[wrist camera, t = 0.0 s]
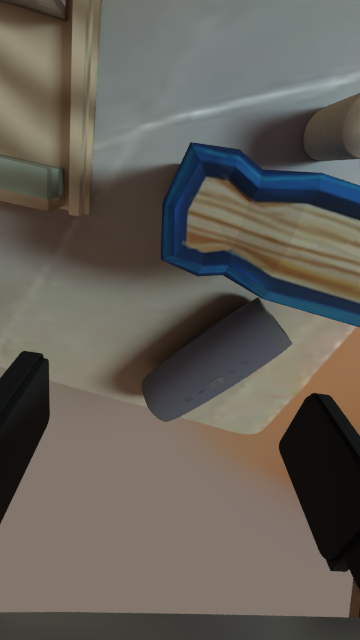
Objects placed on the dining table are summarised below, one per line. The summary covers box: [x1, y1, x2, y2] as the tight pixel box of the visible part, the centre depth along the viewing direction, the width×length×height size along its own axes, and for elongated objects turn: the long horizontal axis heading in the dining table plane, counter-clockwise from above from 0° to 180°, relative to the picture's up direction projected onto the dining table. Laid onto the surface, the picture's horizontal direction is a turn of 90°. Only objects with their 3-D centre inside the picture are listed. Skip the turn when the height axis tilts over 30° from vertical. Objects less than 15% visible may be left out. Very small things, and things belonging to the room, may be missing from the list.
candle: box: [303, 93, 360, 161], centre depth 28 cm, size 6×6×10 cm
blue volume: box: [161, 142, 360, 327], centre depth 25 cm, size 22×7×25 cm, turn 74°
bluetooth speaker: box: [141, 298, 292, 422], centre depth 42 cm, size 23×9×10 cm, turn 130°
